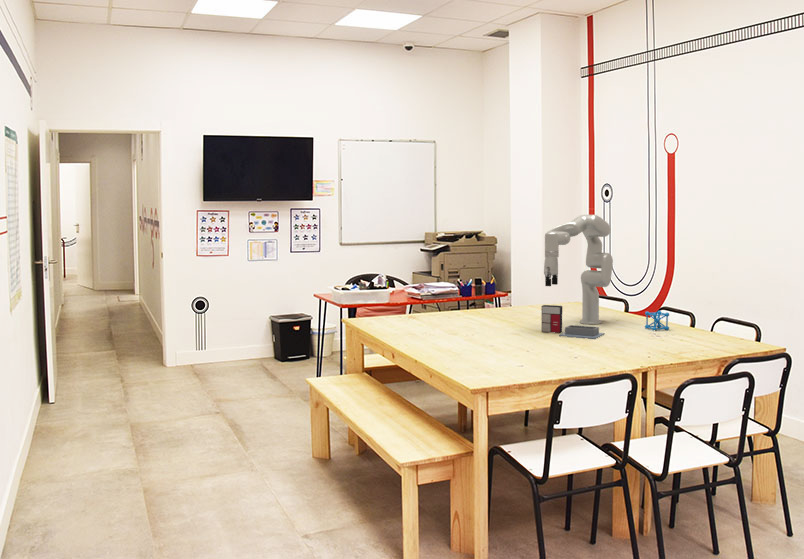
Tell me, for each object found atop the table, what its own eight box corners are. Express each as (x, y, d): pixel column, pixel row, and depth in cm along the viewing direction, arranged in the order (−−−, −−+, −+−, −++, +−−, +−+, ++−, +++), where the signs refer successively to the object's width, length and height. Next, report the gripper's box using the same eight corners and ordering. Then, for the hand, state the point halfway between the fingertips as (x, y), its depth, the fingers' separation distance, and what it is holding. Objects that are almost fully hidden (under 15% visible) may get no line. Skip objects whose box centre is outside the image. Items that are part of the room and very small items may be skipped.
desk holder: (569, 331, 410) (569, 323, 409) (604, 334, 399) (604, 326, 399) (559, 336, 396) (559, 328, 396) (595, 339, 386) (595, 330, 385)
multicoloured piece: (541, 332, 410) (541, 305, 408) (543, 331, 413) (543, 304, 412) (560, 333, 405) (560, 306, 403) (562, 332, 408) (562, 305, 407)
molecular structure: (669, 330, 407) (670, 312, 406) (653, 331, 405) (654, 313, 404) (659, 327, 417) (660, 310, 416) (643, 328, 415) (644, 311, 414)
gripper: (550, 253, 414) (550, 283, 415) (539, 255, 399) (539, 286, 401) (563, 253, 410) (563, 284, 411) (552, 255, 395) (552, 287, 397)
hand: (551, 285), depth 406 cm, fingers open, 9 cm apart
